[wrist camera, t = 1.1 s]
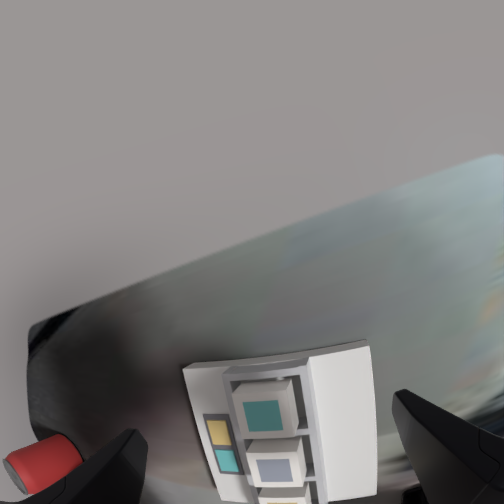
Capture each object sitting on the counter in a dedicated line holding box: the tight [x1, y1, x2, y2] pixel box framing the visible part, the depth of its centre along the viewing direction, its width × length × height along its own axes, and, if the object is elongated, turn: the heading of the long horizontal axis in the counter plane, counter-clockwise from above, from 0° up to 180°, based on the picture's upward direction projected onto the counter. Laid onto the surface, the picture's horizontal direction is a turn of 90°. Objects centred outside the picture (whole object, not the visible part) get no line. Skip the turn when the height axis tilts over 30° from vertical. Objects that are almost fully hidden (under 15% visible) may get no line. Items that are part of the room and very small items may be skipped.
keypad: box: [183, 340, 377, 504], centre depth 18 cm, size 14×14×4 cm
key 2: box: [258, 481, 312, 504], centre depth 15 cm, size 3×3×2 cm
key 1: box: [232, 379, 299, 439], centre depth 16 cm, size 3×3×2 cm
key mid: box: [246, 436, 307, 487], centre depth 16 cm, size 3×3×2 cm
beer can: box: [3, 434, 83, 495], centre depth 22 cm, size 7×7×12 cm
